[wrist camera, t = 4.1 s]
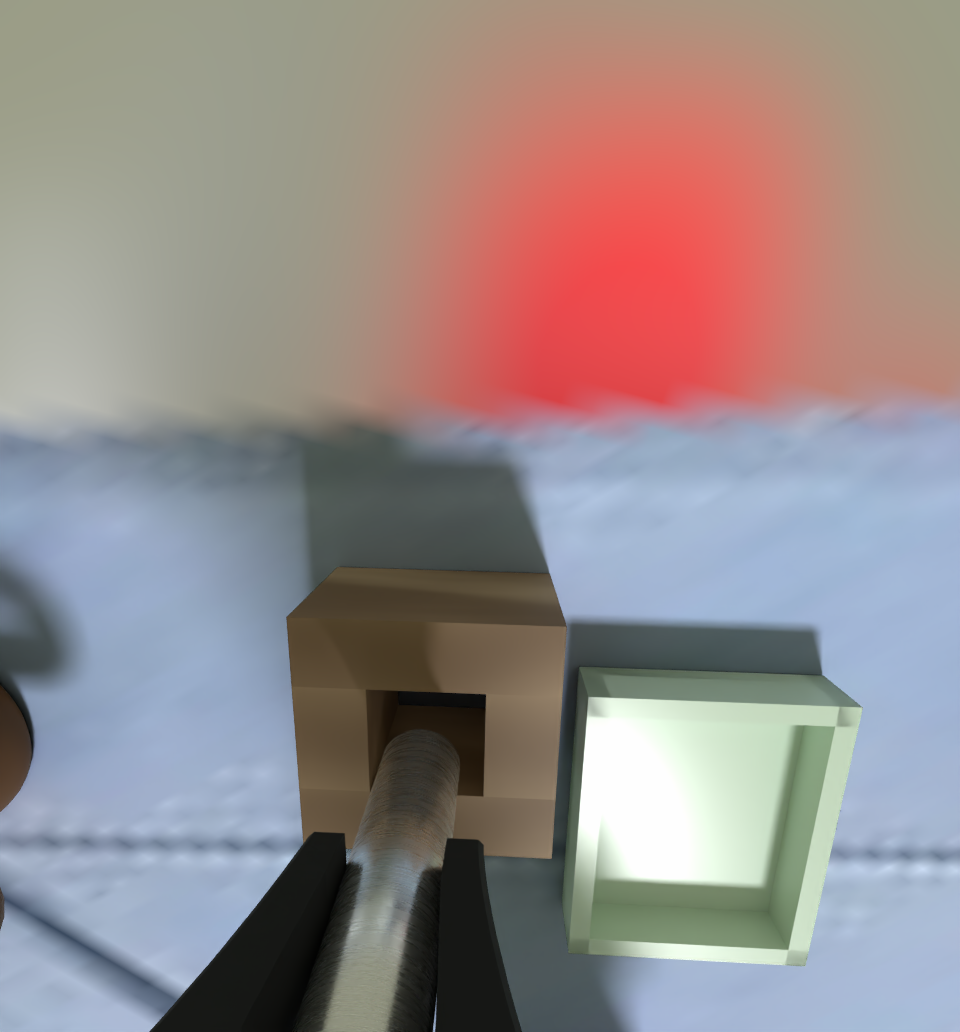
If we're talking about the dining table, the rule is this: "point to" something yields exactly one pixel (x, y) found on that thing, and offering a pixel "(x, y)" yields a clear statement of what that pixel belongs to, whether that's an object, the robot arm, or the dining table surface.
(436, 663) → the walnut block
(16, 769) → the mug
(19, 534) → the dining table surface
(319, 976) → the pin
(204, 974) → the robot arm
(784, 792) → the tray
